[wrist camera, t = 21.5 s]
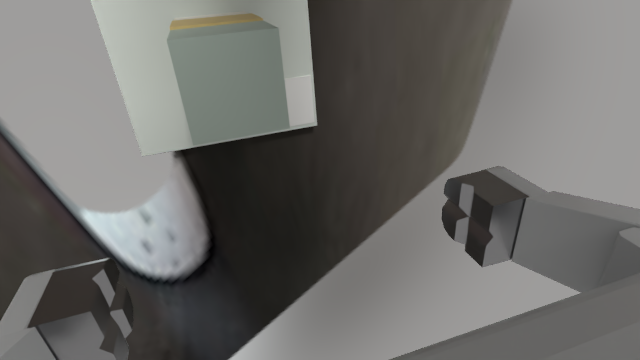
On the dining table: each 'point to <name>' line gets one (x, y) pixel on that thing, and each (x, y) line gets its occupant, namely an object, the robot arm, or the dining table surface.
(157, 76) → the build board
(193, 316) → the dining table surface
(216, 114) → the sage brick
